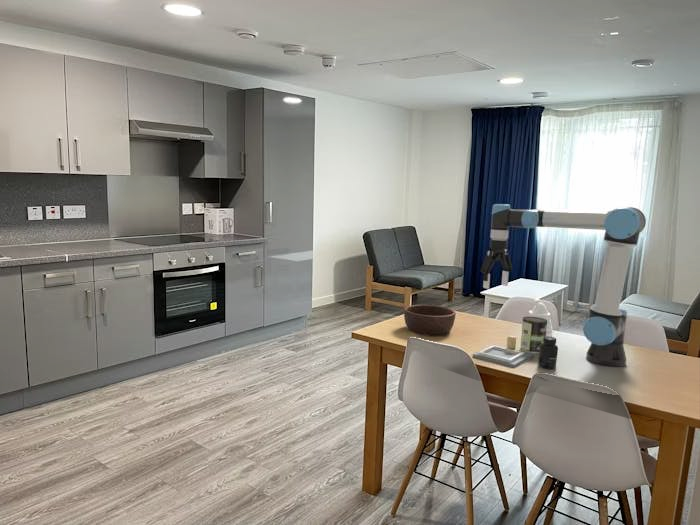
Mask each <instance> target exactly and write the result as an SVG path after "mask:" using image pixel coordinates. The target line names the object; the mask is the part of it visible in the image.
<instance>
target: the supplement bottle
mask: <svg viewBox="0 0 700 525" xmlns="http://www.w3.org/2000/svg"><path fill="white" fill-rule="evenodd" d="M543 342H544V343H542V344H541V345H540V350H539V354H538V359H537V360H538V362H537V366H538V367H540V368H541V369H545V370H556V368H557V362H558V361H557V360H558V353H559V347H558V345H557V338H556V337H553V336H552V337H549V336H545V337H544V339H543Z"/></svg>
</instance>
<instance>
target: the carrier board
mask: <svg viewBox="0 0 700 525" xmlns="http://www.w3.org/2000/svg"><path fill="white" fill-rule="evenodd" d="M516 345H517V336H515V335H507V340H506V346H501V345H497V344H492V345H490V346H488V347H486V348H483V349H481V350H479V351H477V352H474V353H472V358H474V359H479V360H484V361H486V360H487V362H492V363H495V364H498V365H503V366H506V367H510V368H516V367H518V366H519V365H520V366H521V364H523V363H524V361H525V362H527V361H529V360H530V359H532V358H533V357H534V355H535V354H534V353H528V352H524V351H522V350H519V349H516ZM526 360H527V361H526Z"/></svg>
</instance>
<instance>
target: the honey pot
mask: <svg viewBox="0 0 700 525" xmlns="http://www.w3.org/2000/svg"><path fill="white" fill-rule="evenodd" d="M540 301H541V300H540V299H536V298H534V300H533V302H534V303H535V304H536V305H534V307H533V308H532V310H531V309H530V310H528V314H529V315H528V317H529V316H530V317H540V318H544V319H546V320H547V329H546V336H549V337H553V325H552V320H551V313H550V312H549V311H548V309H547V307H546V305H545V304H544V303H543V302H540Z"/></svg>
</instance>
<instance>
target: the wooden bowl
mask: <svg viewBox="0 0 700 525" xmlns="http://www.w3.org/2000/svg"><path fill="white" fill-rule="evenodd" d="M456 315H457V314H456V311H455V310H454V309H452V308H448V307H446V306H440V305H435V304H414V305H413V304H412V305H408V306H406V307H404V308H403V317H404V322H405V326H406V328H407V330H409V331H410V332H411V333H414V334H417V335H422V336H431V337H432V336H433V337H435V336H445V335H448V334H449V333H450V332H451V331H452V329H453V327H454V324H455V319H456Z"/></svg>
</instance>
